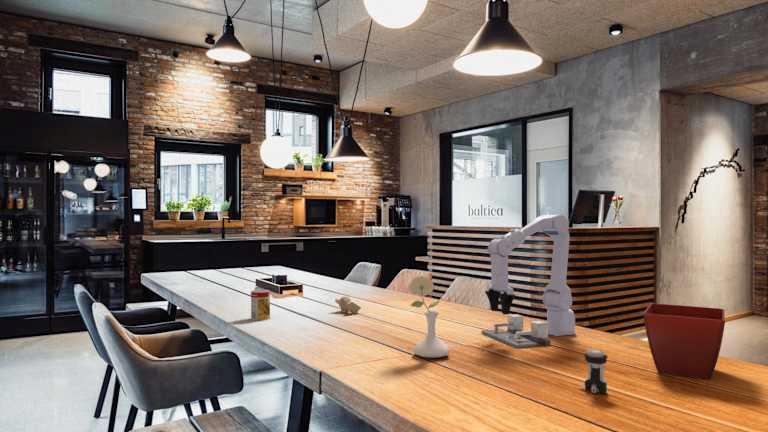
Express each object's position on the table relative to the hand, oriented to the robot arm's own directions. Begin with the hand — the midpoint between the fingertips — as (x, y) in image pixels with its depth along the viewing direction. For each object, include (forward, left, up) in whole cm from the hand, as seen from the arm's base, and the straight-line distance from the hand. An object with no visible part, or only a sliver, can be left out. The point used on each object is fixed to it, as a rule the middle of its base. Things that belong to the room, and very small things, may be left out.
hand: (500, 312), depth 188 cm
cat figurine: (+36, -72, -10) cm, 81 cm away
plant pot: (-30, +49, -10) cm, 58 cm away
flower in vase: (+31, +10, -10) cm, 34 cm away
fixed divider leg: (-8, -9, -8) cm, 15 cm away
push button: (+6, +55, -10) cm, 57 cm away
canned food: (+75, -71, -10) cm, 104 cm away
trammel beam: (-12, -1, -10) cm, 15 cm away
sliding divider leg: (-8, +6, -8) cm, 13 cm away
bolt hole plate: (-4, -1, -10) cm, 11 cm away
